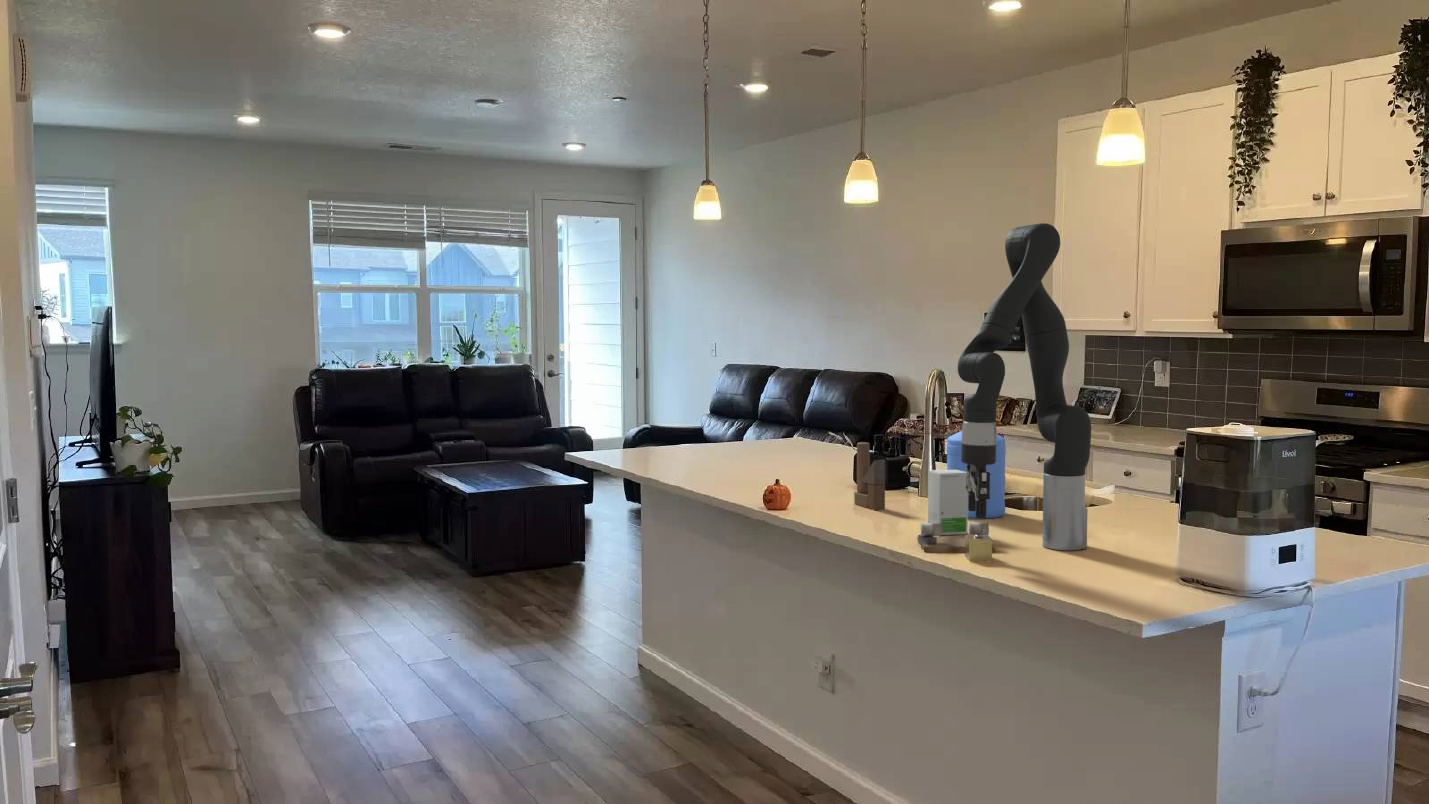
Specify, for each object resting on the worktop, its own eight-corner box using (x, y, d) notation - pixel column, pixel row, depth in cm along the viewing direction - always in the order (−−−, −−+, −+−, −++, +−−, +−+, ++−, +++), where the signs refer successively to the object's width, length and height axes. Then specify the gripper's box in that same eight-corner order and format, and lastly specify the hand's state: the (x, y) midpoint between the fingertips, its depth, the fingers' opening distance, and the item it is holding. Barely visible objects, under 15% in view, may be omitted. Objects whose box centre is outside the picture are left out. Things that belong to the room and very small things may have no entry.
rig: (984, 541, 247) (984, 518, 247) (994, 552, 236) (994, 527, 236) (915, 541, 248) (915, 518, 248) (922, 552, 237) (922, 527, 237)
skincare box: (938, 536, 254) (939, 473, 253) (926, 531, 260) (926, 469, 259) (969, 534, 256) (969, 471, 255) (956, 528, 262) (956, 468, 261)
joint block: (987, 556, 233) (987, 533, 232) (991, 561, 228) (992, 537, 227) (964, 556, 233) (964, 533, 232) (969, 561, 228) (969, 537, 227)
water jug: (1008, 520, 273) (1009, 414, 270) (947, 519, 275) (948, 414, 273) (1001, 509, 288) (1002, 409, 286) (944, 508, 291) (944, 409, 288)
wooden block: (874, 510, 288) (874, 446, 287) (853, 504, 298) (853, 442, 296) (885, 509, 290) (885, 445, 288) (864, 503, 299) (864, 441, 298)
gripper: (1003, 446, 221) (1000, 520, 222) (989, 438, 235) (987, 508, 236) (967, 445, 221) (965, 520, 223) (956, 438, 235) (954, 508, 237)
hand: (976, 514), depth 229 cm, fingers open, 8 cm apart
